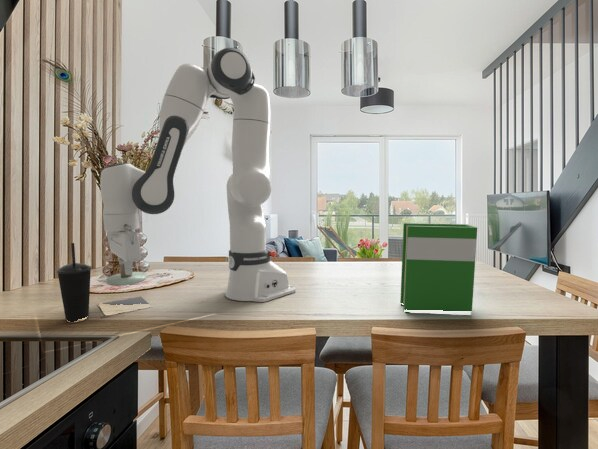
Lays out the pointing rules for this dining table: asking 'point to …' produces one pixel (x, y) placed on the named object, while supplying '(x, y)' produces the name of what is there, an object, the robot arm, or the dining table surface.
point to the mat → (129, 301)
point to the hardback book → (438, 266)
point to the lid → (125, 278)
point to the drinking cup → (75, 288)
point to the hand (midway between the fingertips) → (126, 272)
